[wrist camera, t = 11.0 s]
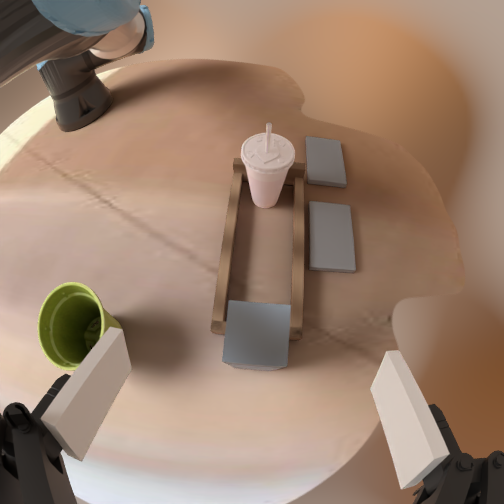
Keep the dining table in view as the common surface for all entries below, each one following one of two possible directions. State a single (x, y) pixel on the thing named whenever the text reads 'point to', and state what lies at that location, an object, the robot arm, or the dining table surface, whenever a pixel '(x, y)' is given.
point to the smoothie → (267, 165)
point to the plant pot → (71, 324)
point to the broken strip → (328, 210)
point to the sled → (260, 314)
